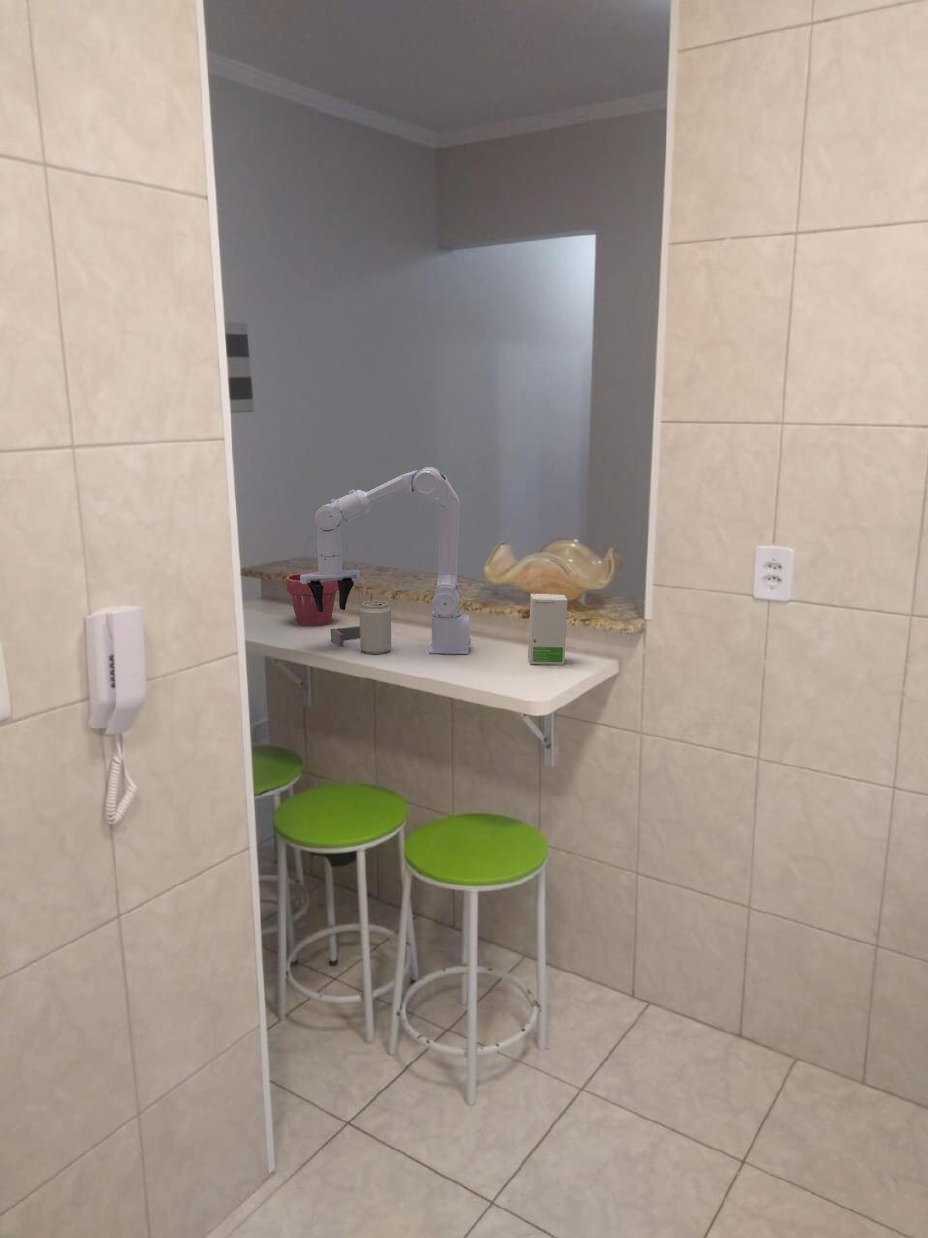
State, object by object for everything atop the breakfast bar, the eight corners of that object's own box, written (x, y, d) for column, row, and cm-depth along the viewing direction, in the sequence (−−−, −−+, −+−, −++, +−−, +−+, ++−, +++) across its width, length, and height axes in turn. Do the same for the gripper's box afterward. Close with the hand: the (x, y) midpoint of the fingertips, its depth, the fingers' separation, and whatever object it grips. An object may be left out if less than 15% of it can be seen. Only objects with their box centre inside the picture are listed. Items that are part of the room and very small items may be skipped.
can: (386, 655, 225) (385, 606, 222) (356, 654, 227) (355, 605, 224) (394, 647, 232) (394, 600, 230) (365, 646, 234) (364, 598, 231)
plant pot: (284, 618, 262) (282, 572, 259) (335, 614, 266) (333, 570, 263) (291, 630, 249) (289, 582, 246) (344, 626, 253) (343, 579, 250)
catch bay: (388, 640, 239) (388, 629, 238) (339, 646, 233) (339, 634, 232) (379, 634, 244) (379, 623, 244) (331, 640, 239) (330, 628, 238)
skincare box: (529, 665, 218) (531, 599, 215) (527, 657, 225) (528, 593, 221) (566, 665, 218) (568, 599, 215) (562, 657, 225) (564, 593, 221)
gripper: (352, 550, 233) (353, 604, 237) (295, 554, 227) (297, 609, 230) (362, 554, 227) (363, 609, 230) (304, 558, 221) (306, 615, 224)
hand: (331, 610), depth 230 cm, fingers open, 5 cm apart
